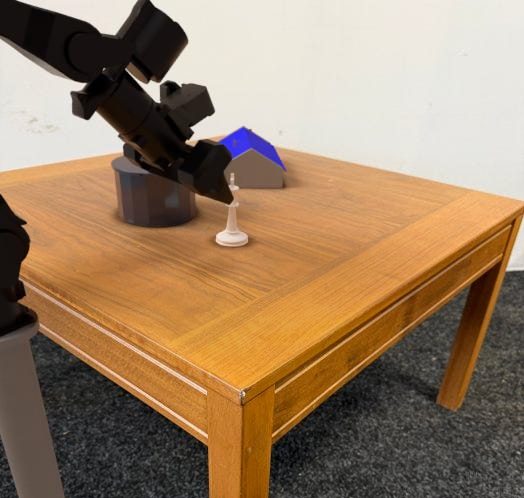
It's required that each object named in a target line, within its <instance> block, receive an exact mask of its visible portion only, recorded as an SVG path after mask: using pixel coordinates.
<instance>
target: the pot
mask: <svg viewBox="0 0 524 498" xmlns="http://www.w3.org/2000/svg"><path fill="white" fill-rule="evenodd" d="M113 174H114V182H115V190H116V191H115V192H116V200H117V209H118V215H119V218H120V219H121V220H122V221H123V222H125V223H126V224H130V225H133V226H138V227H144V228H145V227H146V228H164V227H165V228H166V227H173V226H179V225H183V224H186V223H188V222H190V221H192V220H193V219H195V217H196V215H197V214H196V213H197V204H196V203H197V202H196V201H197V199H196V193H194V192H192V191H190V190H189V189H188V188H187V187H185V186H184V185H182V184H179V183H177V182H174V181H172V180H169V179H166V178H164V177H141V176H132V175H126V174H122V173H119V172H116V171H115V170H113Z"/></svg>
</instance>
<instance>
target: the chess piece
mask: <svg viewBox="0 0 524 498" xmlns="http://www.w3.org/2000/svg"><path fill="white" fill-rule="evenodd" d="M230 183H231V185H229V187H230V190H231V192H232V195H233V197H234V200H233V202H232V203H231V204H230V205H228V204H225V203H224V206H225V207H228V214H227V222H226V228H224V230H223V231H220V232H218V233H217V234H216V235H215V242H216V243H217V244H218V245H220V246H224V247H231V248H235V247H241V246H245V245H246V244H248V243H249V239H248V238H249V235H248V234H247V233H245V232H243V231H240V230H241V229H240V228H239V227H238V220H237V209H236V208H238V207H239V206H240V202H239V201H237V198H238V194H239V191H240V188H239V187H238V186H235V185H234V174H233V173H231V179H230Z"/></svg>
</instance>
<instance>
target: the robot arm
mask: <svg viewBox="0 0 524 498" xmlns="http://www.w3.org/2000/svg"><path fill="white" fill-rule="evenodd" d="M188 37H189V36H188V34H187V33H186V32H185V30H184V28H183V27H182V25H180V23H179V22H178V21H175V20H174V19H173V18H171V17H170V15H168V14H167V13H166V12H165V11H163V10H162V9H160V8H158V7H156V6H155V4H154V3H153V2H152V1H151V0H137V1H136V2H135V4H134V5H133V6H132V9H131V11H130V14H129V15H128V16H127V18H126V19H125V21H124V22H123V23H122V25H121V26H120V28H119V29H118V30H117V32H116V33H115V35H114V34H109V33H103V32H101V31H100V30H99V29H98V28H97V27H95V26H94V25H93V24H92V23H91V22H88V21H86V20H83V19H79V18H77V17H74V16H71V15H68V14H64V13H61V12H58V11H54V10H51V9H47V8H44V7H40V6H37V5H33V4H30V3H27V2H23V1H20V0H0V40H1V41H2V42H4V43H5V44H7V45H8V46H10V47H11V48H12V49H14V50H15V51H16V52H18V53H19V54H20V55H21V56H23V57H24V58H26V59H28V60H29V61H31V62H32V63H33V64H35V65H36V66H38V67H40V68H41V69H43V70H44V71H46V72H47V73H49V74H51V75H53V76H55V77H58V78H62V79H66V80H68V81H72V82H75V83H79V84H85V85H84V86H83V87H82V89H80V90H70V92H69V95H70V97H71V114H72V115H73V116H74V117H77V118H80V119H81V120H84V121H90V120H91V118H92V117H93V116H94V114H95V113H97V114H98V116H100V117H101V118H102V119H103V120H104V121H105V122H106V123H107V124H108V125H109V126H111V127H112V129H114V130H115V131H116V132H117V133H118V135H117V137H118V138H119V140H121V141H122V142H123V145H122V153H123V156H125V157H126V158H127V159H128V160H129V161H130V162H131V163H132V164H134V165H136V166H138V167H140V168H141V169H144V170H146V171H148V172H150V173H153V174H156V175H158V176H161V177H164V178H166V179H169V180H172V181H174V182H177V183H179V184H182V185H184V186H185V187H187V188H188V189H189V190H190V191H192V192H194V193H195V195H198V196H201V197H204V198H207V199H210V200H212V201H213V200H214V201H215V202H219V203H222V204H224V205H225V204H228V205H230V204H231V203H232V202H233V200H234V197H233V195H232V192H231V190H230V187H229V185H228V183H227V180H226V177H225V174H224V170H225V169H226V167H227V166H228V165H229V163H230V162H231V160H232V153H231V152H230V151H229V150H228V149H227V147H226V146H225V145H224V144H222V143H219V142H217V141H216V140H212V139H211V138H210V139H209V138H204V139H198V140H197V141H196V143H195V145H191V144H188V143H187V141H191V139H192V138H193V136H194V135H195V131H194V130H193V129H192V128H193V127H195V126H196V125H197V124H199V123H200V122H202V121H203V120H205V119H206V118H207V117H212V116H213V115H214V114H215V113H216V109H215V106H214V103H213V101H212V97H211V95H210V92H209V90H208V88H207V86H206V85H202V84H197V83H193V82H190V83H184V82H183V83H181V84H180V85H179V84H178V83H177V82H176V81H173V80H169V79H166V80H165V81H164V82H162V81H163V80H164V78H165V77H166V76H167V74H168V72H169V71H170V70H171V69H172V67H173V65H174V64H175V63H176V61H177V60H178V59H179V57H180V56H181V55H182V53H183V52H184V50H185V49H186V48H187V46H188V45H189V41H190V40H189V38H188ZM138 81H139V82H140V83H142V84H144V85H149V83H150V82H154V83H156V84H159V102H158V101H155V99H154V98H153V97H152V95H150V94H149V93H148V92H147V91H146V90H145V89H144V88H143V86H142V85H141V84H140V83H139V82H138ZM161 82H162V83H161ZM27 225H28V221H27V220H26V219H24V218H23V217H22V216H20V215H19V213H17V212H16V211H14V210H13V209H12V208H11V207H10V205H9V203H8V202H7V200H6V199H5V197H4V196H3V195H2V194H1V193H0V337H1V336H4V335H6V334H8V333H10V332H13V331H15V330H17V329H20V328H22V327H24V326H26V325H29V324H31V323H33V322H35V317H34V316H32V315H30V314H28V313H27V312H29V308H30V307H29V306H26V305H25V304H22V303H20V302H19V301H21V300H23V299H24V298H25V297H26V296H27V292H26V287H25V284H24V281H23V280H20V274H21V267H22V263H23V262H24V260H26V259H27V257H28V255H29V252H30V247H31V237H30V235H29V233H28V232H27V230H26V229H25V228H24V227H23V226H27Z"/></svg>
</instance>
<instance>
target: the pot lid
mask: <svg viewBox="0 0 524 498" xmlns="http://www.w3.org/2000/svg"><path fill="white" fill-rule="evenodd" d="M110 168H111V169H112V170H113V171H114V170H115V171H116V172H119V173H122V174H126V175H132V176H141V177H161V176H158V175H156V174H153V173H150V172H148V171H146V170H144V169H141V168H140V167H138V166H136V165H134V164H132V163H131V162H130V161H129V160H128V159H127V158H126V157H125V156H124V155H121V156H118V157H116V158H114V159H112V160H111V161H110Z"/></svg>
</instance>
